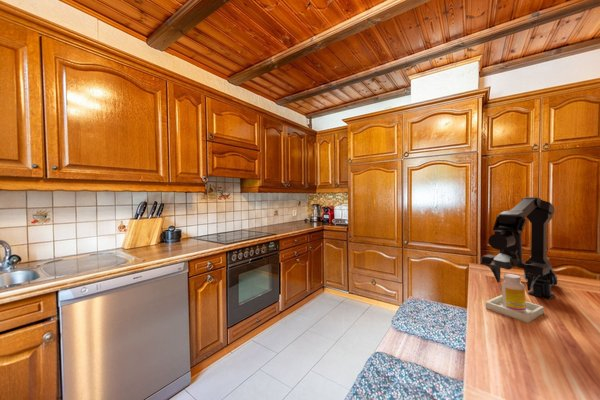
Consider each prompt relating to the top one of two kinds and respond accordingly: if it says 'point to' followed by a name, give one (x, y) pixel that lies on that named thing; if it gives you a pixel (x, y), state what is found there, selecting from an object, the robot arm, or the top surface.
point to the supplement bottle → (513, 293)
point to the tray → (527, 316)
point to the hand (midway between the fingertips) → (513, 286)
